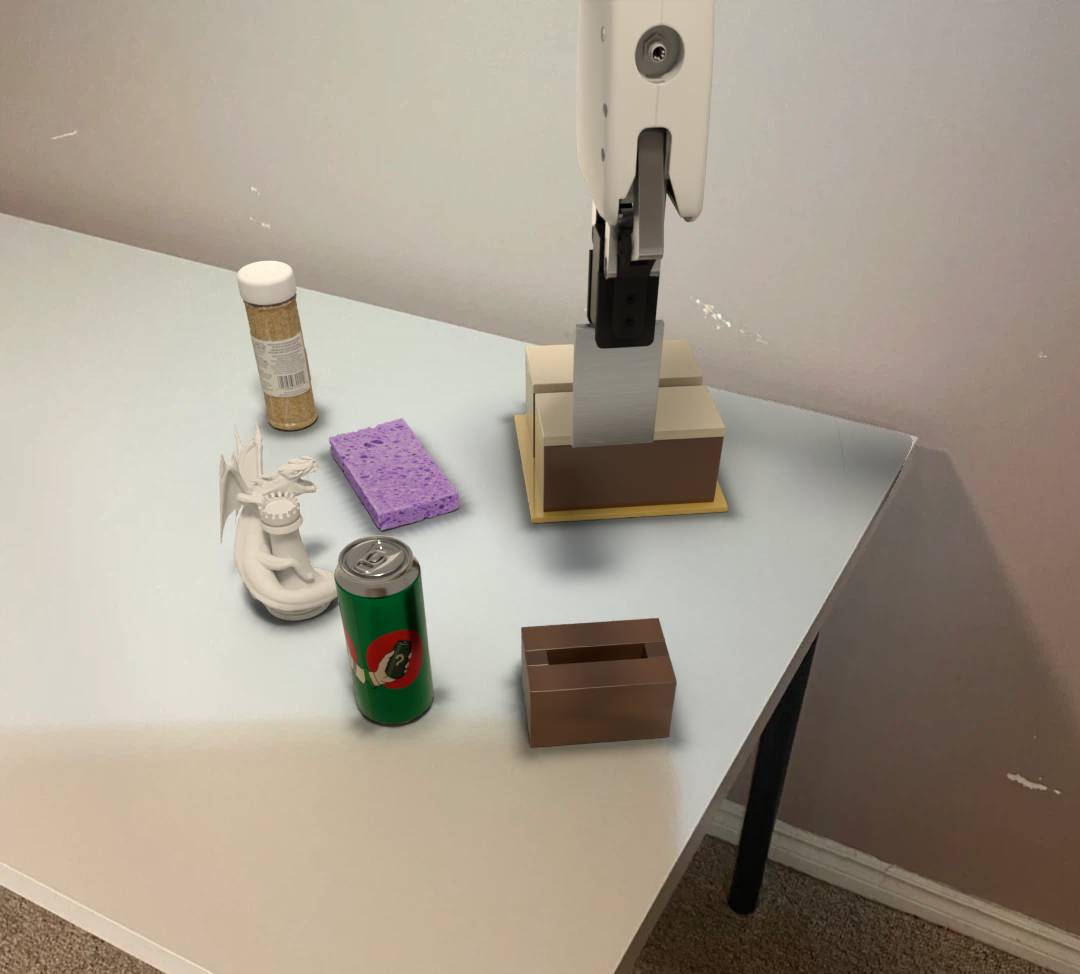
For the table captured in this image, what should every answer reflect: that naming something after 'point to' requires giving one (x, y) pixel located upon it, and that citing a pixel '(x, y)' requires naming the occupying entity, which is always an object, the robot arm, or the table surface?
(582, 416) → the knife
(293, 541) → the figurine
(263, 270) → the spice jar
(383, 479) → the sponge
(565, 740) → the knife stand
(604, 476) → the cake
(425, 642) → the soda can
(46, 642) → the table surface
